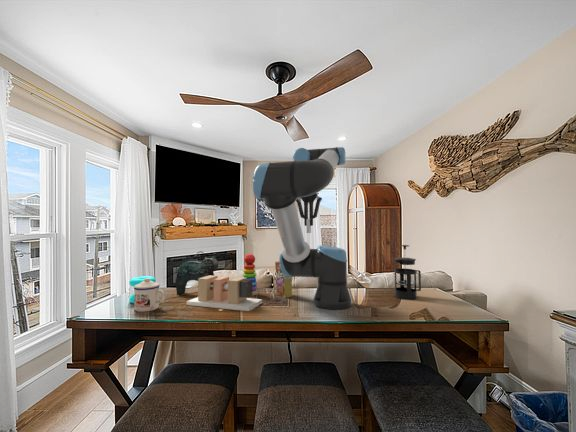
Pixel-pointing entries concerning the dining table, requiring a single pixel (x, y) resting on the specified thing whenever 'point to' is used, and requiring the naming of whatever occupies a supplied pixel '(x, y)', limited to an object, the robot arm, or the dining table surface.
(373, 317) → the dining table surface
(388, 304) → the dining table surface
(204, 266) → the dark teal curved piece
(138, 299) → the teacup with lid
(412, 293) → the french press
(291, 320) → the dining table surface
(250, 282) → the shaft
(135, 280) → the donuts
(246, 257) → the stacking toy
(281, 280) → the candy box
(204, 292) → the shaft bracket
